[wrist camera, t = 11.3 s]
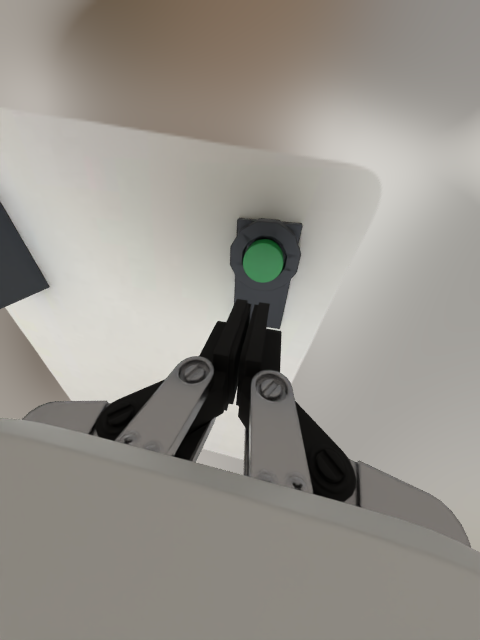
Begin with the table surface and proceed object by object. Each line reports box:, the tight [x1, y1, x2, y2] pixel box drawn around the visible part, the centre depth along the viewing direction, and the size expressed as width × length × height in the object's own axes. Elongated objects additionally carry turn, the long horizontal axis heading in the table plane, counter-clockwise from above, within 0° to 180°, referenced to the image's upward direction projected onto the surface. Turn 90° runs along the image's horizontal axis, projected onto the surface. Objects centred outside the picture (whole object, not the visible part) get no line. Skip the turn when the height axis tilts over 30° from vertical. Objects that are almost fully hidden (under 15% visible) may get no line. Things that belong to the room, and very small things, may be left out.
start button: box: [243, 239, 283, 283], centre depth 18 cm, size 4×4×2 cm
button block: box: [230, 218, 302, 329], centre depth 21 cm, size 12×6×2 cm, turn 177°
